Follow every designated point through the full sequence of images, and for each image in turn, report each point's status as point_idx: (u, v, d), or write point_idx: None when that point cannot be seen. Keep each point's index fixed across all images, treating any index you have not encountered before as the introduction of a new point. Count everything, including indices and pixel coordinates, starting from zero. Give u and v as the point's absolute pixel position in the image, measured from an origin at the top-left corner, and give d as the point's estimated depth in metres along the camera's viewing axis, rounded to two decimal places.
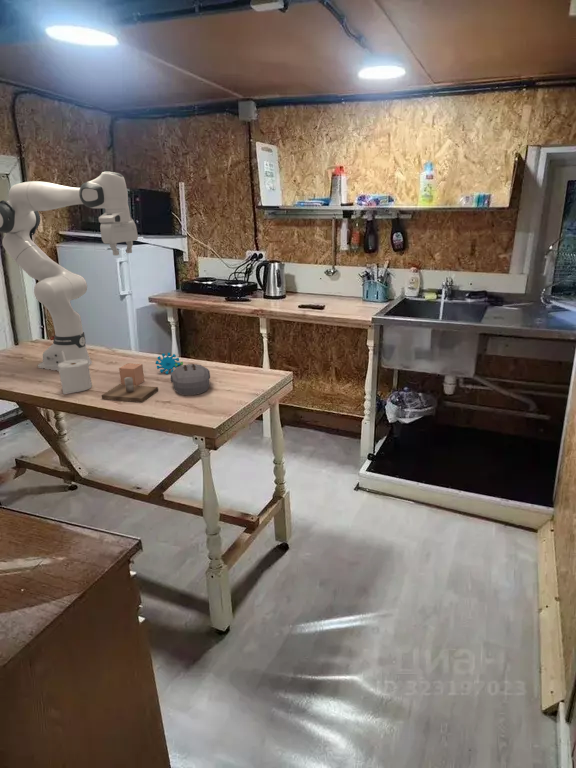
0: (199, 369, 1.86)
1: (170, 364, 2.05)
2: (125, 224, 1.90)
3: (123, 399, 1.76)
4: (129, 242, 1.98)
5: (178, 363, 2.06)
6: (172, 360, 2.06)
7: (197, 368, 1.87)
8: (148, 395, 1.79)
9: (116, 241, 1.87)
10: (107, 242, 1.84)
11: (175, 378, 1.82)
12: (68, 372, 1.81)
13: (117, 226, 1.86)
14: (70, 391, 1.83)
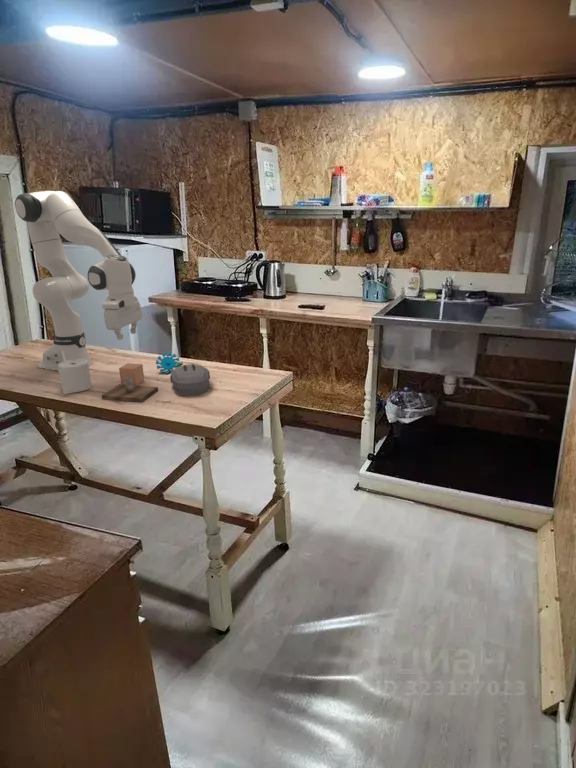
0: (199, 369, 1.86)
1: (170, 364, 2.06)
2: (129, 307, 1.83)
3: (123, 399, 1.76)
4: (133, 322, 1.91)
5: (178, 363, 2.06)
6: (172, 360, 2.07)
7: (197, 368, 1.86)
8: (148, 395, 1.79)
9: (120, 326, 1.80)
10: (111, 329, 1.77)
11: (175, 378, 1.82)
12: (68, 372, 1.81)
13: (121, 311, 1.80)
14: (70, 391, 1.83)
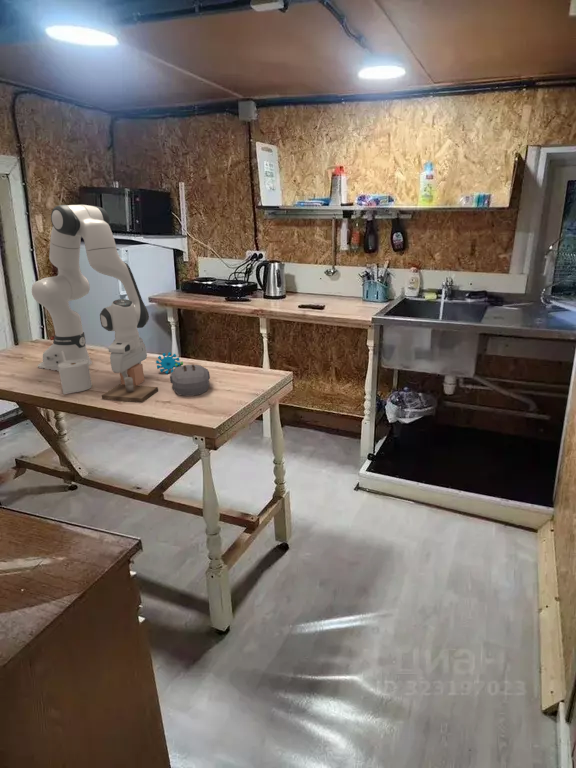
0: (199, 370, 1.86)
1: (170, 364, 2.06)
2: (135, 350, 1.89)
3: (123, 399, 1.76)
4: (137, 363, 1.96)
5: (178, 363, 2.06)
6: (172, 360, 2.07)
7: (197, 369, 1.86)
8: (148, 395, 1.79)
9: (126, 369, 1.86)
10: (117, 372, 1.83)
11: (175, 379, 1.81)
12: (68, 372, 1.81)
13: (127, 354, 1.85)
14: (70, 391, 1.83)
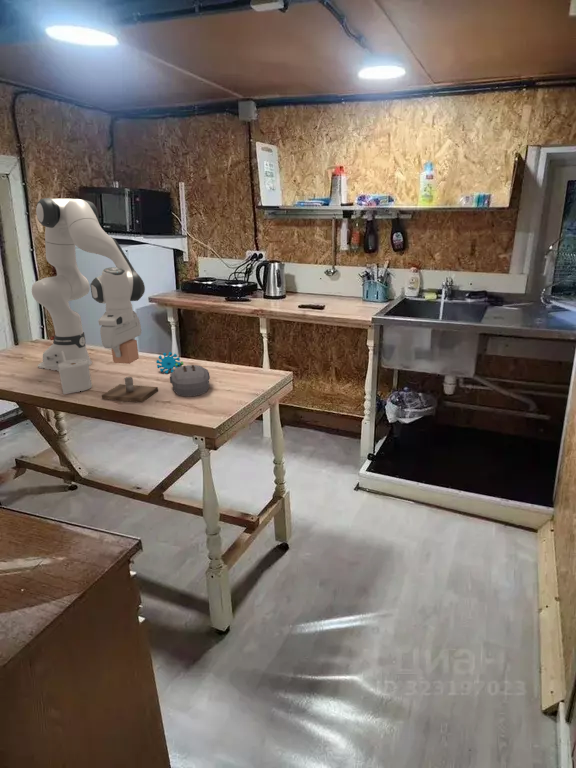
0: (199, 370, 1.85)
1: (170, 363, 2.06)
2: (128, 323, 1.72)
3: (123, 399, 1.76)
4: (131, 339, 1.79)
5: (178, 363, 2.07)
6: (173, 360, 2.07)
7: (197, 369, 1.86)
8: (148, 395, 1.79)
9: (118, 344, 1.69)
10: (108, 347, 1.66)
11: (175, 379, 1.81)
12: (68, 372, 1.81)
13: (119, 328, 1.68)
14: (70, 391, 1.83)
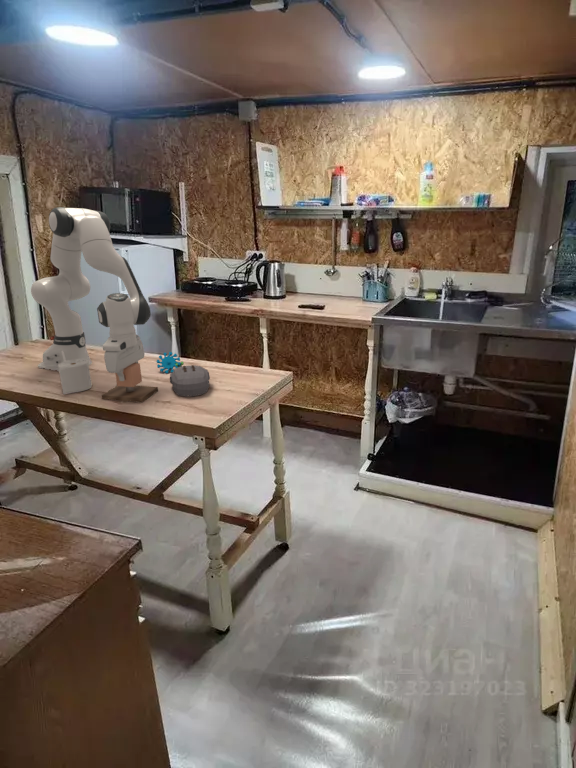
0: (199, 370, 1.85)
1: (170, 363, 2.06)
2: (131, 348, 1.75)
3: (123, 399, 1.76)
4: (134, 362, 1.82)
5: (178, 363, 2.07)
6: (173, 359, 2.07)
7: (197, 369, 1.85)
8: (148, 395, 1.79)
9: (121, 368, 1.72)
10: (112, 372, 1.69)
11: (175, 379, 1.81)
12: (68, 372, 1.81)
13: (123, 352, 1.71)
14: (70, 391, 1.83)
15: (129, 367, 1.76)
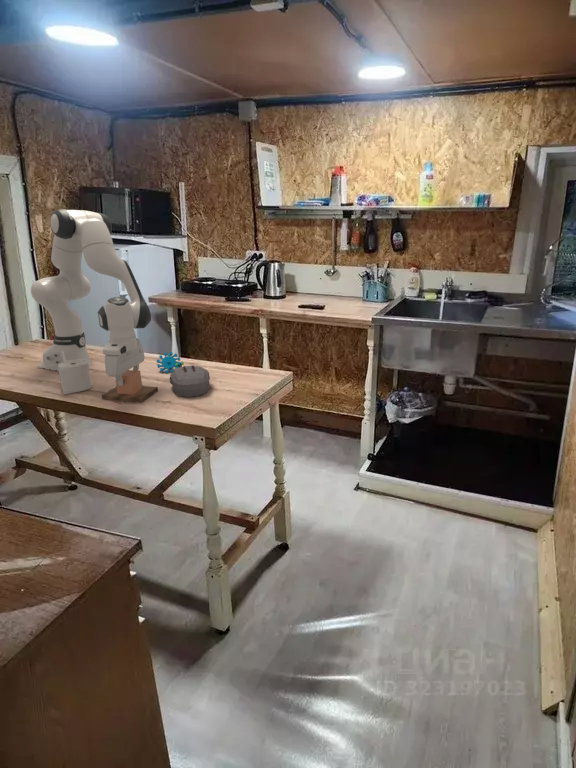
0: (199, 370, 1.85)
1: (171, 363, 2.06)
2: (131, 352, 1.75)
3: (123, 399, 1.76)
4: (135, 365, 1.84)
5: (178, 363, 2.07)
6: (173, 359, 2.07)
7: (197, 369, 1.85)
8: (148, 395, 1.79)
9: (122, 372, 1.73)
10: (112, 375, 1.70)
11: (175, 380, 1.80)
12: (68, 372, 1.81)
13: (123, 356, 1.72)
14: (70, 391, 1.83)
15: (129, 375, 1.77)
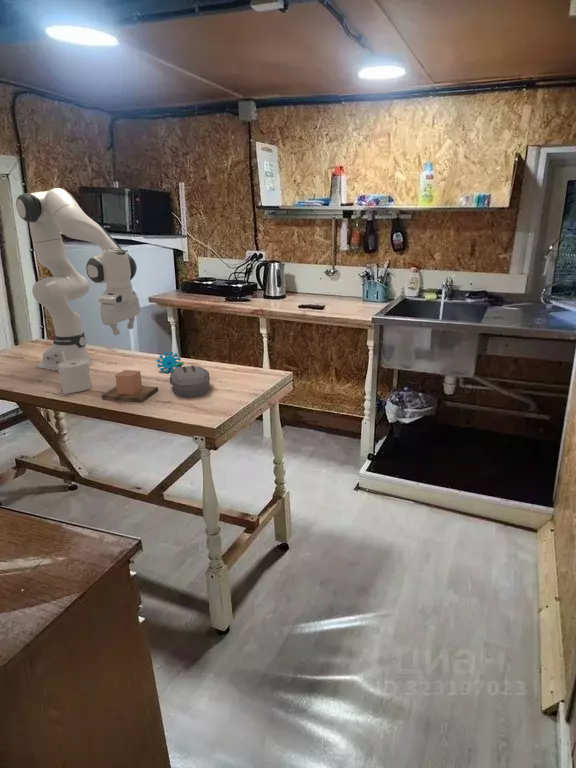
0: (199, 371, 1.84)
1: (171, 363, 2.07)
2: (127, 302, 1.78)
3: (123, 399, 1.76)
4: (131, 317, 1.87)
5: (179, 363, 2.07)
6: (173, 359, 2.07)
7: (197, 370, 1.85)
8: (148, 395, 1.79)
9: (117, 321, 1.76)
10: (107, 324, 1.73)
11: (175, 380, 1.80)
12: (68, 372, 1.81)
13: (118, 306, 1.75)
14: (70, 391, 1.83)
15: (129, 375, 1.77)
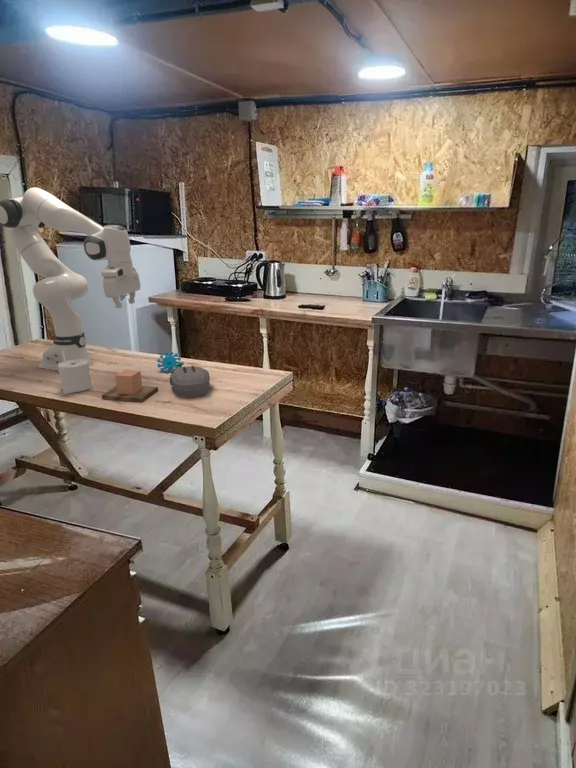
0: (199, 371, 1.84)
1: (171, 363, 2.07)
2: (128, 276, 1.88)
3: (123, 399, 1.76)
4: (132, 292, 1.96)
5: (179, 362, 2.07)
6: (173, 359, 2.08)
7: (197, 370, 1.85)
8: (148, 395, 1.79)
9: (119, 294, 1.85)
10: (110, 296, 1.82)
11: (175, 380, 1.80)
12: (68, 372, 1.81)
13: (120, 279, 1.84)
14: (70, 391, 1.83)
15: (129, 375, 1.77)
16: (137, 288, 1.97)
